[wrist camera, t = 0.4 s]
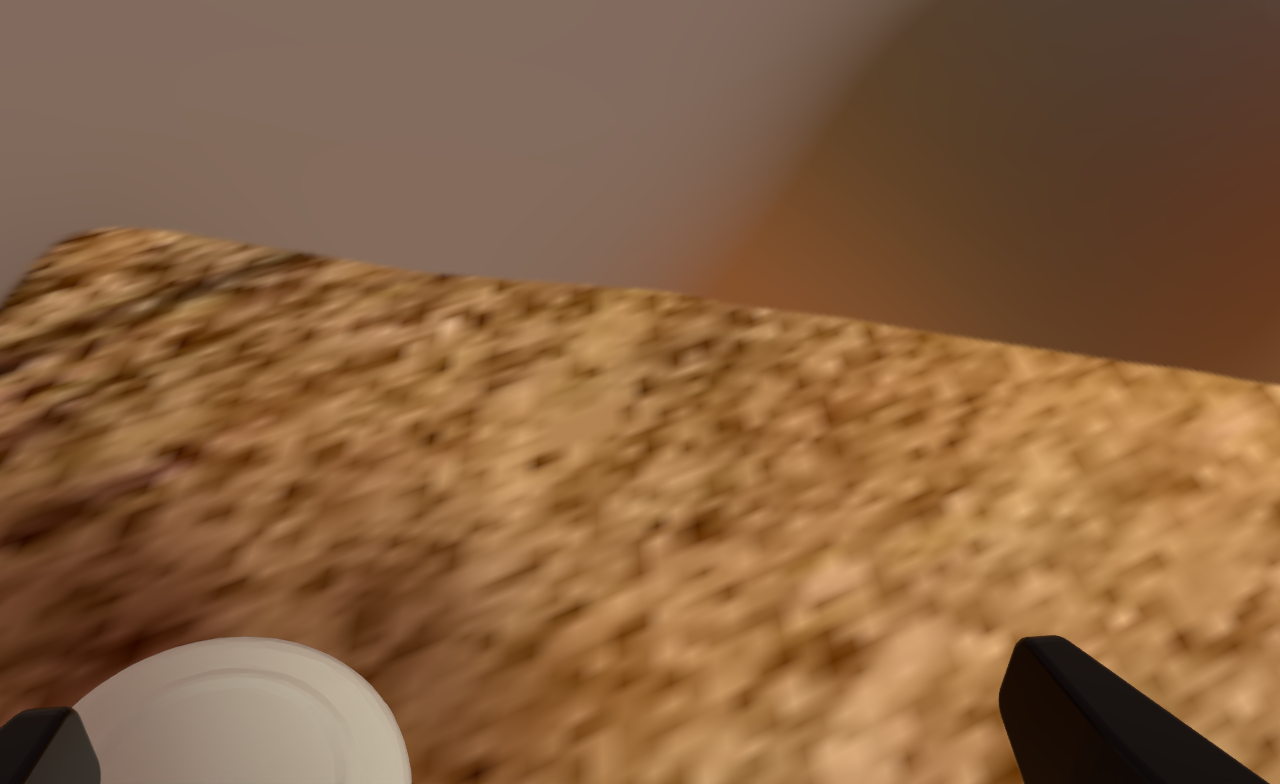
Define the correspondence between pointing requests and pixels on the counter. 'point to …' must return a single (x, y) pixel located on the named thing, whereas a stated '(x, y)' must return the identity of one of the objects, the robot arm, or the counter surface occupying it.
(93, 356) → the counter surface
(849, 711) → the counter surface
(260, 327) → the counter surface
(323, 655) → the sprinkles bottle
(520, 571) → the counter surface
